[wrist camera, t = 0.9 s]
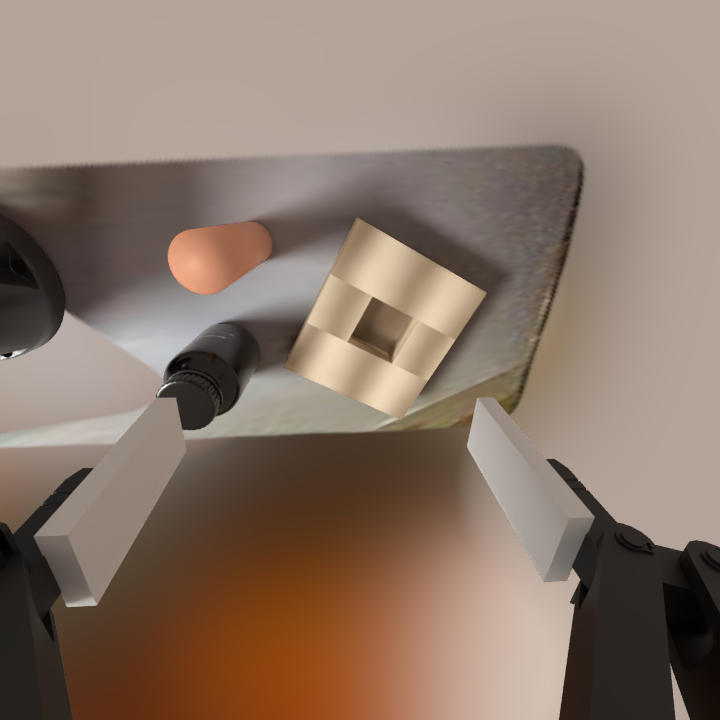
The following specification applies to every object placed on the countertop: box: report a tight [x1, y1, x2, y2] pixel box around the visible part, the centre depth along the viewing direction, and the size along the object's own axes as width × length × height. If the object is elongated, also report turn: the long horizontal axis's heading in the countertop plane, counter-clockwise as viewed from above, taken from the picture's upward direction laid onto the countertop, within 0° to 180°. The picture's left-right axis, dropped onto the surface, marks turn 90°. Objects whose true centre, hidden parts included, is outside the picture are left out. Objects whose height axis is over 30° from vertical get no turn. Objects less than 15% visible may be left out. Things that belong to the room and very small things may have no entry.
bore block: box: [284, 217, 487, 420], centre depth 36 cm, size 14×16×4 cm
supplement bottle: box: [156, 324, 260, 430], centre depth 33 cm, size 7×7×12 cm
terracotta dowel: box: [168, 221, 273, 295], centre depth 28 cm, size 4×4×14 cm
